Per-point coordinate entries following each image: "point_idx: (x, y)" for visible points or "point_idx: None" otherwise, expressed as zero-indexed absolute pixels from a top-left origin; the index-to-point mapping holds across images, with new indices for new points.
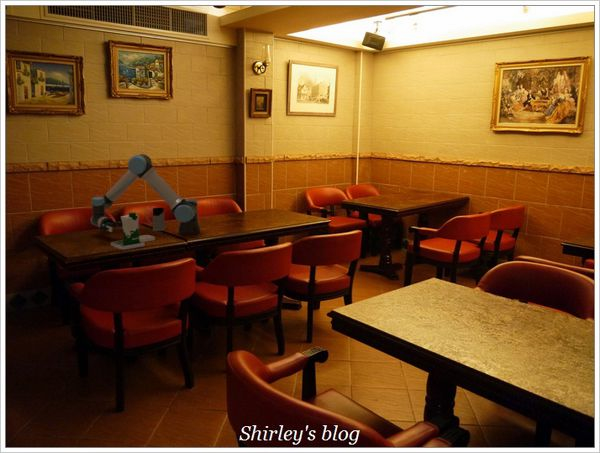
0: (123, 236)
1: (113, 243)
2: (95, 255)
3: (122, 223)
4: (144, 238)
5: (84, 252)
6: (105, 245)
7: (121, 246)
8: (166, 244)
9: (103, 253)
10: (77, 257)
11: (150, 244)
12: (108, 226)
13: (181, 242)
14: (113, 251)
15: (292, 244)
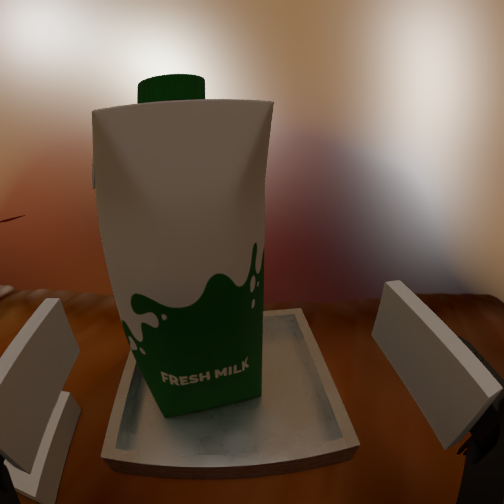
0: (262, 317)
1: (341, 400)
2: (425, 298)
3: (260, 191)
4: None
5: (486, 347)
6: (394, 481)
7: (302, 315)
8: (69, 302)
9: None
10: (479, 298)
11: (101, 339)
12: (454, 349)
13: (24, 294)
14: (350, 320)
15: (13, 219)
